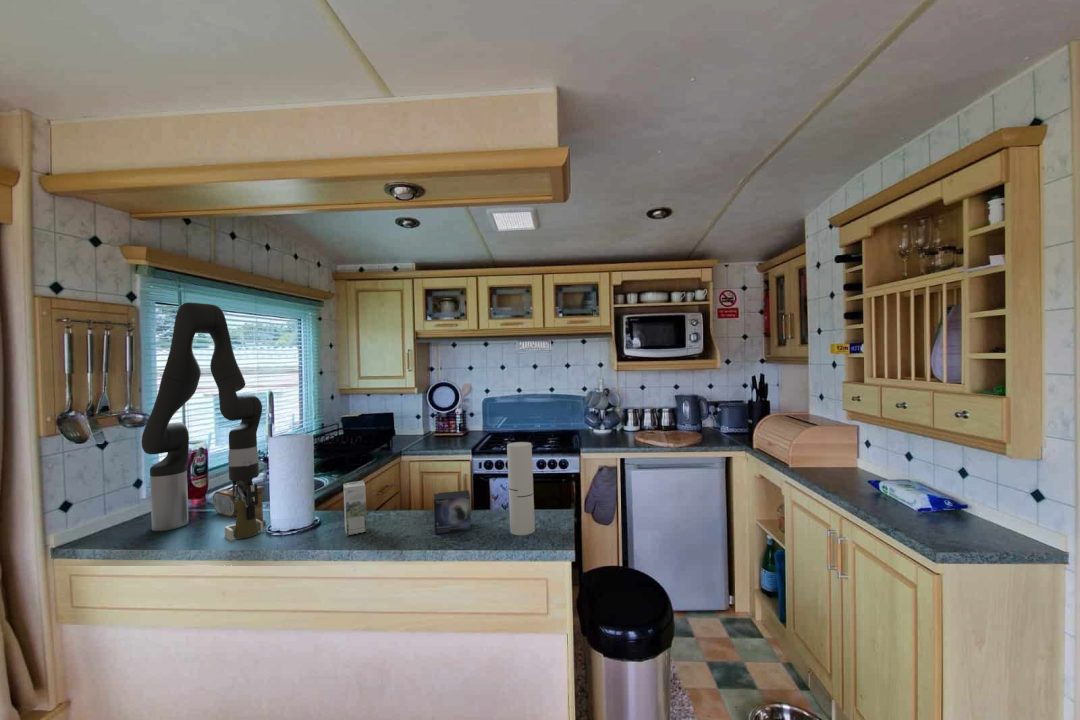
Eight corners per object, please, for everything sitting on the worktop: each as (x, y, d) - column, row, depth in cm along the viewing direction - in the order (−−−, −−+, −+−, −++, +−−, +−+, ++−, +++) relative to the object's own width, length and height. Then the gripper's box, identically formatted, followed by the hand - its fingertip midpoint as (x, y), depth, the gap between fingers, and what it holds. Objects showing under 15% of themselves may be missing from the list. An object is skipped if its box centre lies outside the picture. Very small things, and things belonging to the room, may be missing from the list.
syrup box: (364, 526, 139) (363, 479, 139) (367, 533, 134) (365, 483, 134) (344, 530, 136) (343, 482, 136) (346, 537, 131) (344, 487, 131)
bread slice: (244, 516, 154) (243, 491, 154) (234, 519, 151) (233, 494, 151) (221, 510, 161) (220, 487, 161) (211, 513, 158) (210, 489, 158)
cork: (246, 538, 131) (244, 501, 131) (229, 537, 133) (227, 500, 133) (263, 531, 137) (261, 495, 137) (246, 530, 139) (245, 494, 139)
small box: (434, 535, 129) (433, 499, 130) (434, 527, 136) (433, 493, 136) (471, 531, 132) (470, 495, 132) (469, 523, 138) (468, 489, 138)
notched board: (224, 536, 135) (224, 526, 135) (256, 528, 141) (256, 518, 141) (230, 541, 131) (230, 530, 131) (263, 531, 138) (263, 522, 138)
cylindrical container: (517, 524, 135) (514, 441, 136) (539, 527, 132) (535, 442, 132) (505, 533, 129) (502, 445, 129) (527, 536, 126) (524, 447, 126)
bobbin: (249, 526, 144) (247, 488, 144) (263, 522, 147) (261, 485, 147) (253, 528, 141) (252, 490, 141) (267, 524, 144) (266, 487, 144)
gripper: (221, 462, 137) (223, 515, 137) (237, 467, 128) (239, 525, 128) (249, 457, 143) (251, 509, 143) (266, 462, 134) (268, 517, 134)
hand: (245, 516), depth 135 cm, fingers open, 8 cm apart
